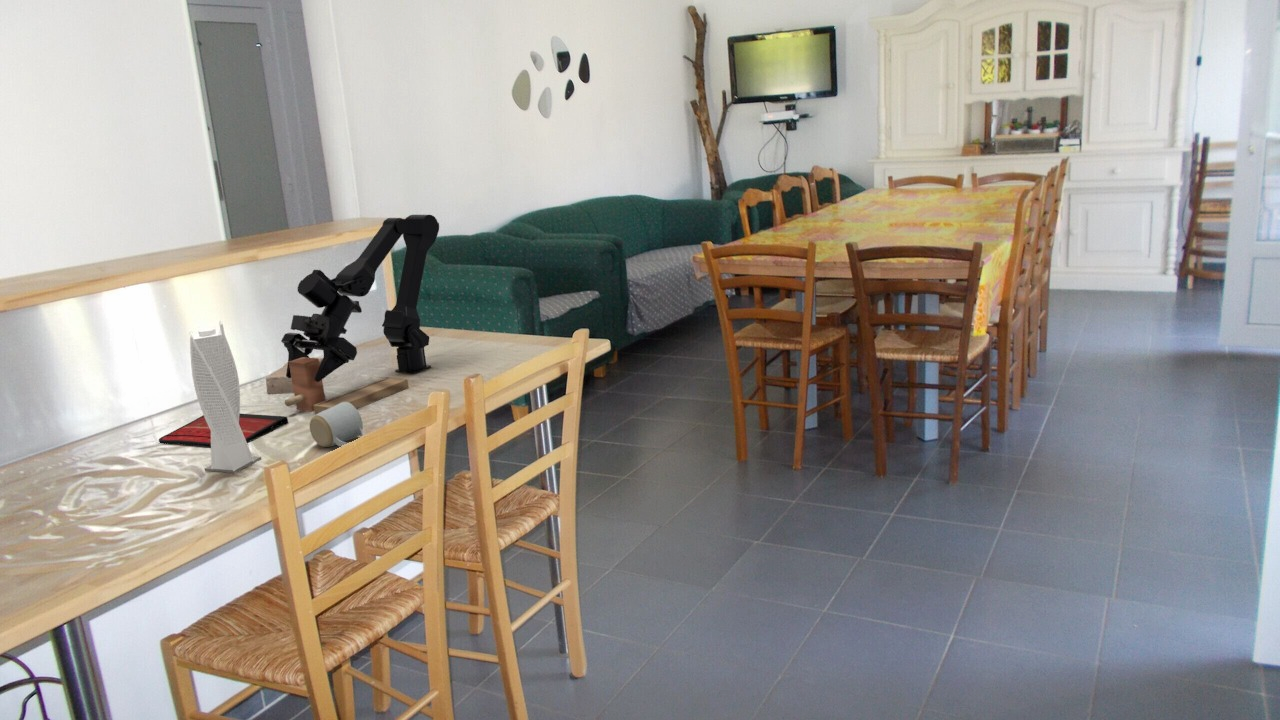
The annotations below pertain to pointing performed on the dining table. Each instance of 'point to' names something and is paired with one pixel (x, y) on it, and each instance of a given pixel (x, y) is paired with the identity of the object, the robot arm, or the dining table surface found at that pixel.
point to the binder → (201, 432)
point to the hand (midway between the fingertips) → (302, 379)
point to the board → (365, 394)
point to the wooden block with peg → (305, 384)
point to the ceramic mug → (336, 425)
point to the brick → (281, 381)
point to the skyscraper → (219, 399)
